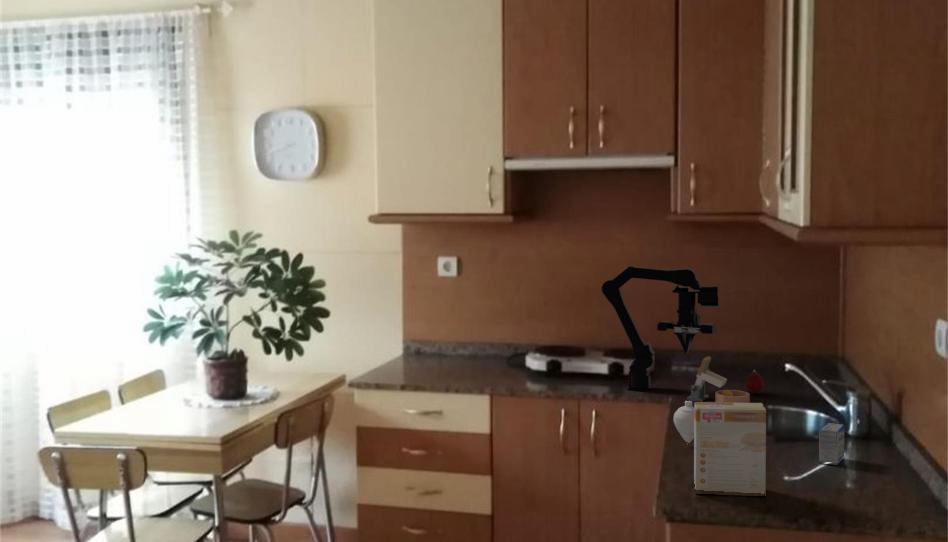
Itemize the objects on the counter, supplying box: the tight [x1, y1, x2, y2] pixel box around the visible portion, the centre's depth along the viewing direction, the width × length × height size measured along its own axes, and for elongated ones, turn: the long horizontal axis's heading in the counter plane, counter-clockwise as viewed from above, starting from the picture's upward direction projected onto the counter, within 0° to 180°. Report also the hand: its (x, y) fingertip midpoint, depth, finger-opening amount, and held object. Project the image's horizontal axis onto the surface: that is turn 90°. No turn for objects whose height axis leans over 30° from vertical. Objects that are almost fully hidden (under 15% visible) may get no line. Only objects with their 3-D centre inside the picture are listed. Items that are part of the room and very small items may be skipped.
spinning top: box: [673, 400, 694, 444], centre depth 244 cm, size 8×8×12 cm
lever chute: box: [694, 355, 728, 389], centre depth 297 cm, size 8×6×10 cm
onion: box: [744, 369, 764, 395], centre depth 306 cm, size 6×6×8 cm
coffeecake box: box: [693, 401, 767, 494], centre depth 206 cm, size 15×7×20 cm, turn 81°
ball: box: [722, 389, 733, 396], centre depth 295 cm, size 4×4×4 cm
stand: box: [686, 381, 710, 402], centre depth 299 cm, size 5×8×5 cm, turn 150°
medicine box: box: [818, 422, 845, 463], centre depth 229 cm, size 8×4×9 cm, turn 148°
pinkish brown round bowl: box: [714, 389, 751, 403], centre depth 294 cm, size 10×10×3 cm
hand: (686, 352), depth 310 cm, fingers closed
